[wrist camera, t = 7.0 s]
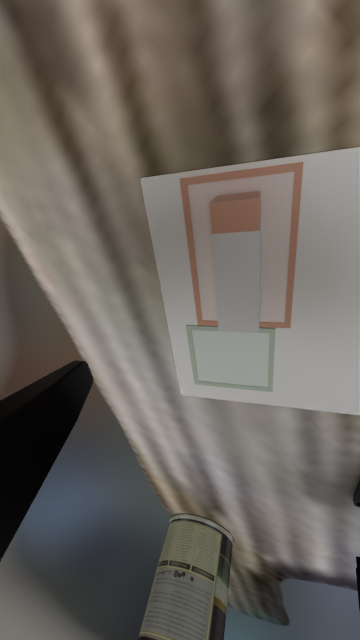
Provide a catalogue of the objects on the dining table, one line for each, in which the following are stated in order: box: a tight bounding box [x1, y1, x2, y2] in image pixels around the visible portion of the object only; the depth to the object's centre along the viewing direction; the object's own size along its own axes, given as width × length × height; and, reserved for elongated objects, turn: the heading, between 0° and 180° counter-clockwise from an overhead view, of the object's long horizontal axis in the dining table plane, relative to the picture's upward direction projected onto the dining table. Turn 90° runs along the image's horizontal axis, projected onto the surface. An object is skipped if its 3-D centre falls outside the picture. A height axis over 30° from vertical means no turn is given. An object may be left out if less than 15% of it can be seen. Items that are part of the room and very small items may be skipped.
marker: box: [209, 191, 261, 332], centre depth 17 cm, size 8×3×3 cm, turn 8°
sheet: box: [140, 147, 360, 415], centre depth 20 cm, size 19×16×1 cm
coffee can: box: [138, 514, 234, 640], centre depth 37 cm, size 10×10×14 cm
